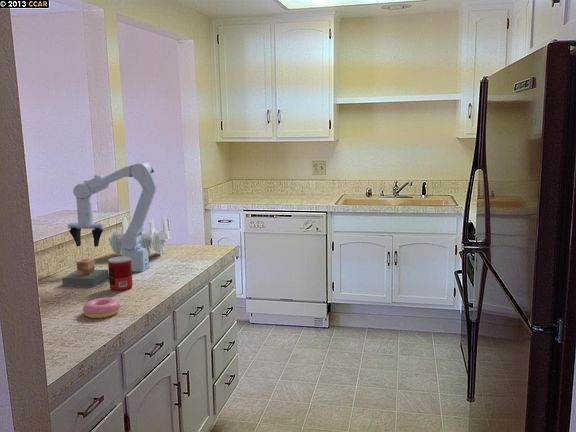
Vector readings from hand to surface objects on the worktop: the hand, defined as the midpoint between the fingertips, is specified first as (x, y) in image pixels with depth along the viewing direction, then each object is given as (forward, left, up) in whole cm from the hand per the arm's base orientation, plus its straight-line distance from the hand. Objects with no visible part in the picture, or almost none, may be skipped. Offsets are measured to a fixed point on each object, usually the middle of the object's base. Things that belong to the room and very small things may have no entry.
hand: (87, 246), depth 210 cm
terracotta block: (-7, +16, -7) cm, 19 cm away
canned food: (-24, +23, -10) cm, 35 cm away
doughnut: (-29, +48, -10) cm, 57 cm away
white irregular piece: (-12, -26, -10) cm, 30 cm away
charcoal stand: (-7, +16, -10) cm, 20 cm away
